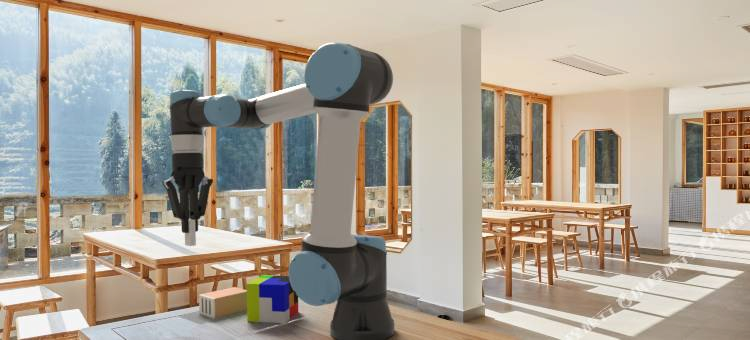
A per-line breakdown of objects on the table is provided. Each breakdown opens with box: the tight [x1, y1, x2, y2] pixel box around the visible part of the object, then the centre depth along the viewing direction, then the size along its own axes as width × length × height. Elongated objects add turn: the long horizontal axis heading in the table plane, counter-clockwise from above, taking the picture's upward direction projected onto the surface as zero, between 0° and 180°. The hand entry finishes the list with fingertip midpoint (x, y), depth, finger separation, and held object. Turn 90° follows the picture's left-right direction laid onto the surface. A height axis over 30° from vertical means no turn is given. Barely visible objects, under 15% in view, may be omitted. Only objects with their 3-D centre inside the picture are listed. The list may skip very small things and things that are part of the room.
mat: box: [177, 310, 247, 325], centre depth 147 cm, size 11×16×1 cm
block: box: [198, 286, 247, 318], centre depth 149 cm, size 7×5×11 cm
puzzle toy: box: [246, 274, 299, 326], centre depth 143 cm, size 10×10×10 cm
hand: (190, 245), depth 141 cm, fingers closed
